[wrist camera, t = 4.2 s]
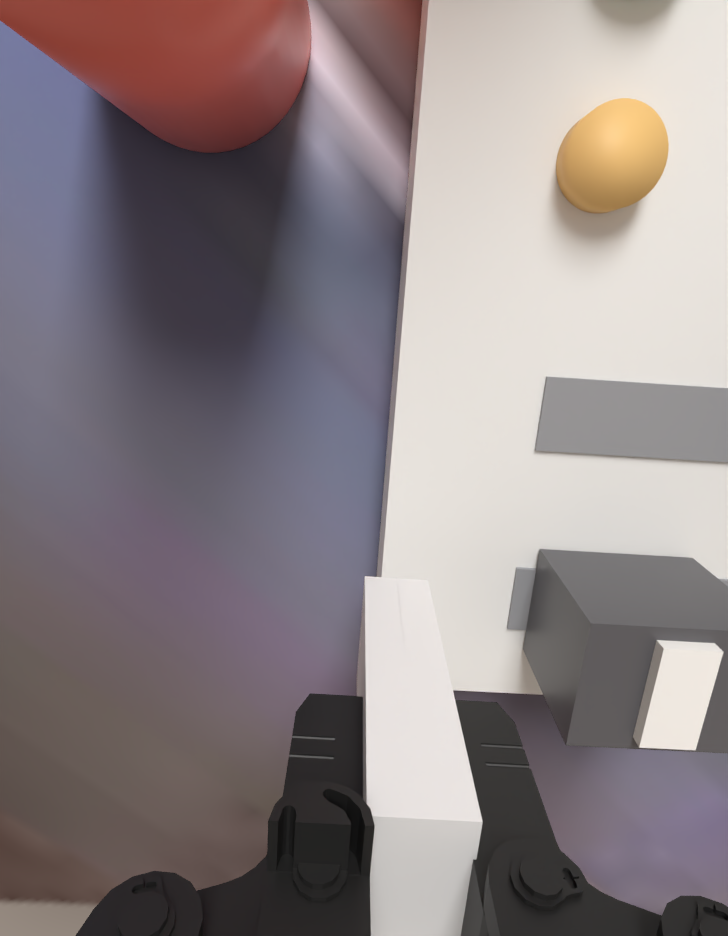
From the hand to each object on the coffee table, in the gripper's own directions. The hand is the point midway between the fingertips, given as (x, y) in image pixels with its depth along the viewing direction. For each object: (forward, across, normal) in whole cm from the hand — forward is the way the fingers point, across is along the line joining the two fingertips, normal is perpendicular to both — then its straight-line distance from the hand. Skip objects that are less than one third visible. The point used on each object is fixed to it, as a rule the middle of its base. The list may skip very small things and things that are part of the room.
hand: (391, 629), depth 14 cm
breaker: (+2, +6, 0) cm, 6 cm away
